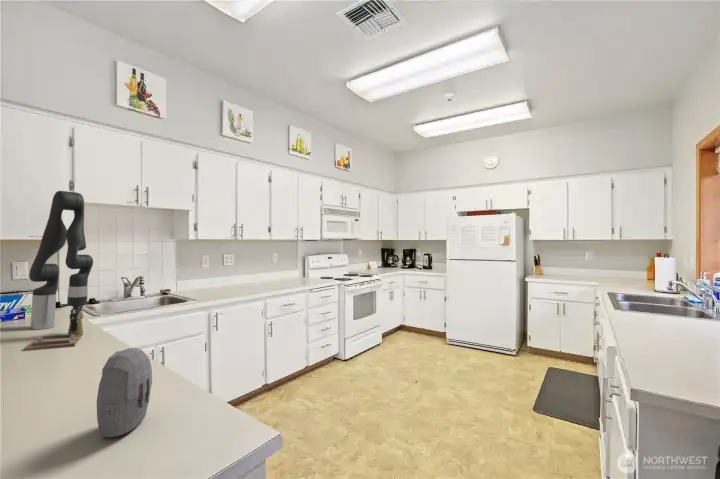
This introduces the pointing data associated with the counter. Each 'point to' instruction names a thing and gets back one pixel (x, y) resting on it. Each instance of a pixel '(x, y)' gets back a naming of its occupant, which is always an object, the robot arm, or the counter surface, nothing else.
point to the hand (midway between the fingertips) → (75, 328)
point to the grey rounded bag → (123, 392)
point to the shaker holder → (53, 342)
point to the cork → (79, 327)
